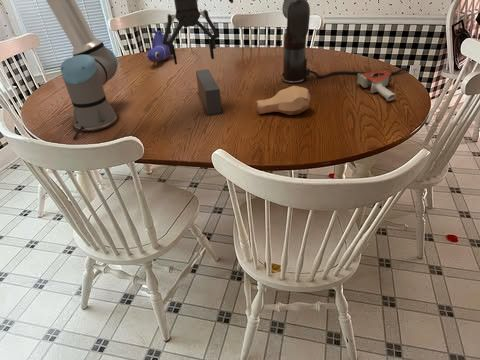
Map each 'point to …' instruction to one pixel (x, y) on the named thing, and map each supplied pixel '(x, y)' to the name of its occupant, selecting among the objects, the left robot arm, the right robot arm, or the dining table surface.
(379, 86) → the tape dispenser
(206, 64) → the dining table surface
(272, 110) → the squash
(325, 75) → the right robot arm
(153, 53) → the toy
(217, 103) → the bar
